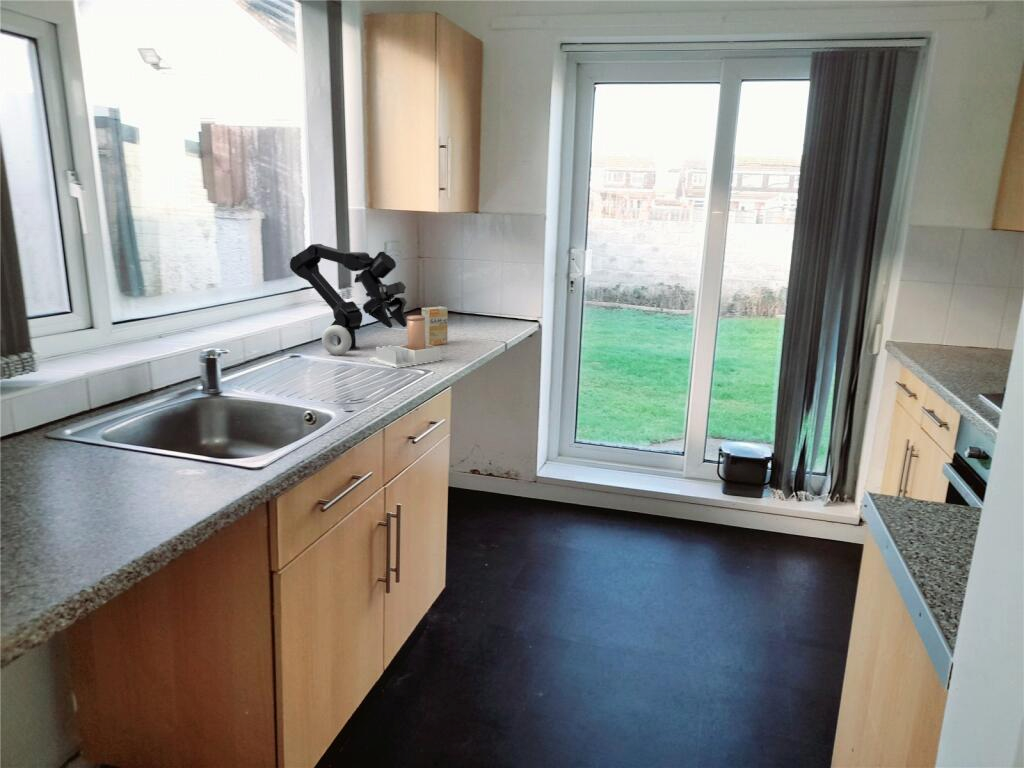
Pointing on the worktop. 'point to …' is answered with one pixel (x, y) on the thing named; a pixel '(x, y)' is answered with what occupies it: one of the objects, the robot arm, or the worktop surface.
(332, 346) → the donut
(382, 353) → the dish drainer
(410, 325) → the tumbler
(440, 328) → the supplement box
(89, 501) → the worktop surface
